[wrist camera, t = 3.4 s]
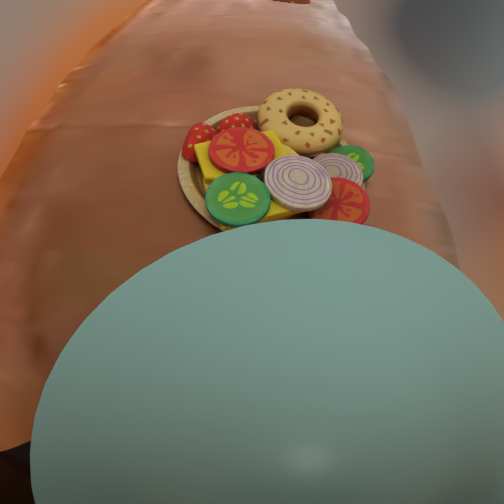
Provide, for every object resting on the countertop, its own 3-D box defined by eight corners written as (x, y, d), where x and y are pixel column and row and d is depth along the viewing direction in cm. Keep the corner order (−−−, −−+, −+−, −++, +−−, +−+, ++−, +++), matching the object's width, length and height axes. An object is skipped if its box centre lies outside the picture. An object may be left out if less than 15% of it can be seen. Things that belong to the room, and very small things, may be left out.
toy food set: (314, 110, 26) (322, 81, 23) (395, 228, 20) (417, 202, 18) (164, 134, 23) (160, 101, 20) (210, 286, 17) (208, 261, 14)
